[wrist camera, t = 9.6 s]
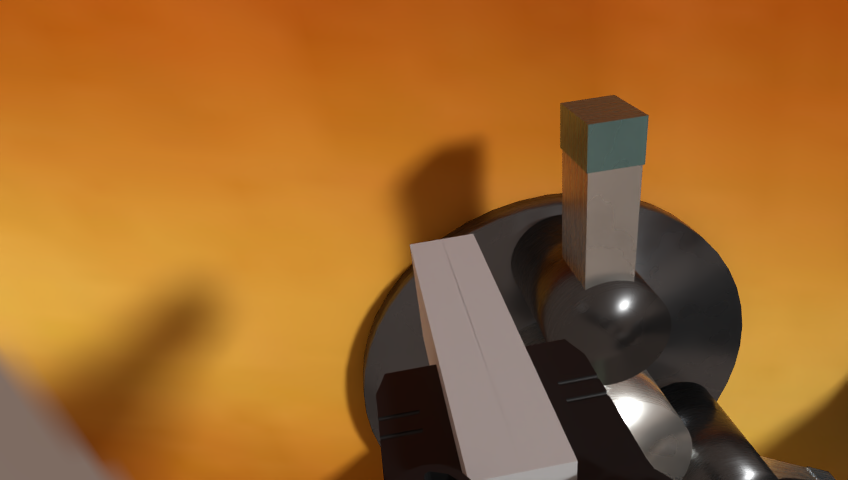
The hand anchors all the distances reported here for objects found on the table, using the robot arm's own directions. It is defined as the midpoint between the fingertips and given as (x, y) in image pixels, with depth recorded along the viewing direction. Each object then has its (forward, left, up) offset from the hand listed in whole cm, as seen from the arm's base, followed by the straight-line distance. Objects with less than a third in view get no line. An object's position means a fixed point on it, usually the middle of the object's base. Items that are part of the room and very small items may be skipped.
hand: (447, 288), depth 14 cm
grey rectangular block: (-4, +6, -10) cm, 13 cm away
